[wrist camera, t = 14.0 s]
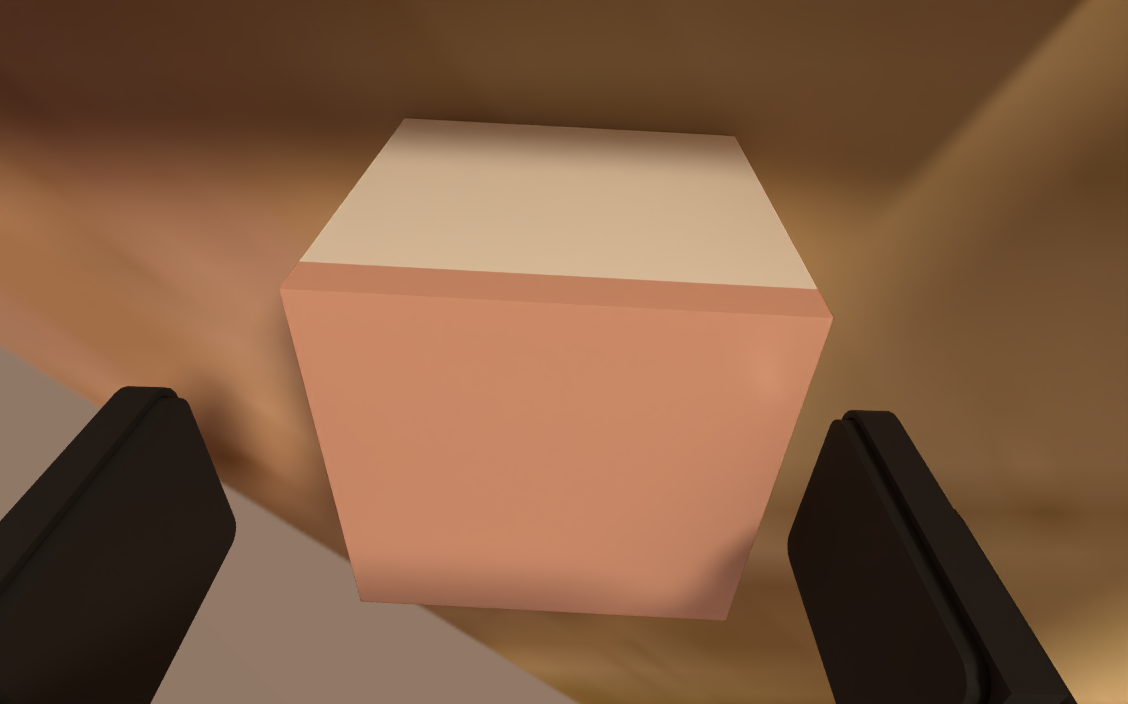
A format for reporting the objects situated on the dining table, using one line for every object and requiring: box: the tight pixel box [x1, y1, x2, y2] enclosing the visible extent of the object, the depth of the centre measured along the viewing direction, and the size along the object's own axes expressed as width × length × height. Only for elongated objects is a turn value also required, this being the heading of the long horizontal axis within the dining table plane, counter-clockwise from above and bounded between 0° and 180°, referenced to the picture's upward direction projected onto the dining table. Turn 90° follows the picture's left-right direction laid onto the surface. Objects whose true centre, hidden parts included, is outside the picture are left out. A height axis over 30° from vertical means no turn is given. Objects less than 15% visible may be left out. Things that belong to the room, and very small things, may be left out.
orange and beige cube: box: [279, 118, 833, 621], centre depth 11 cm, size 6×6×6 cm
